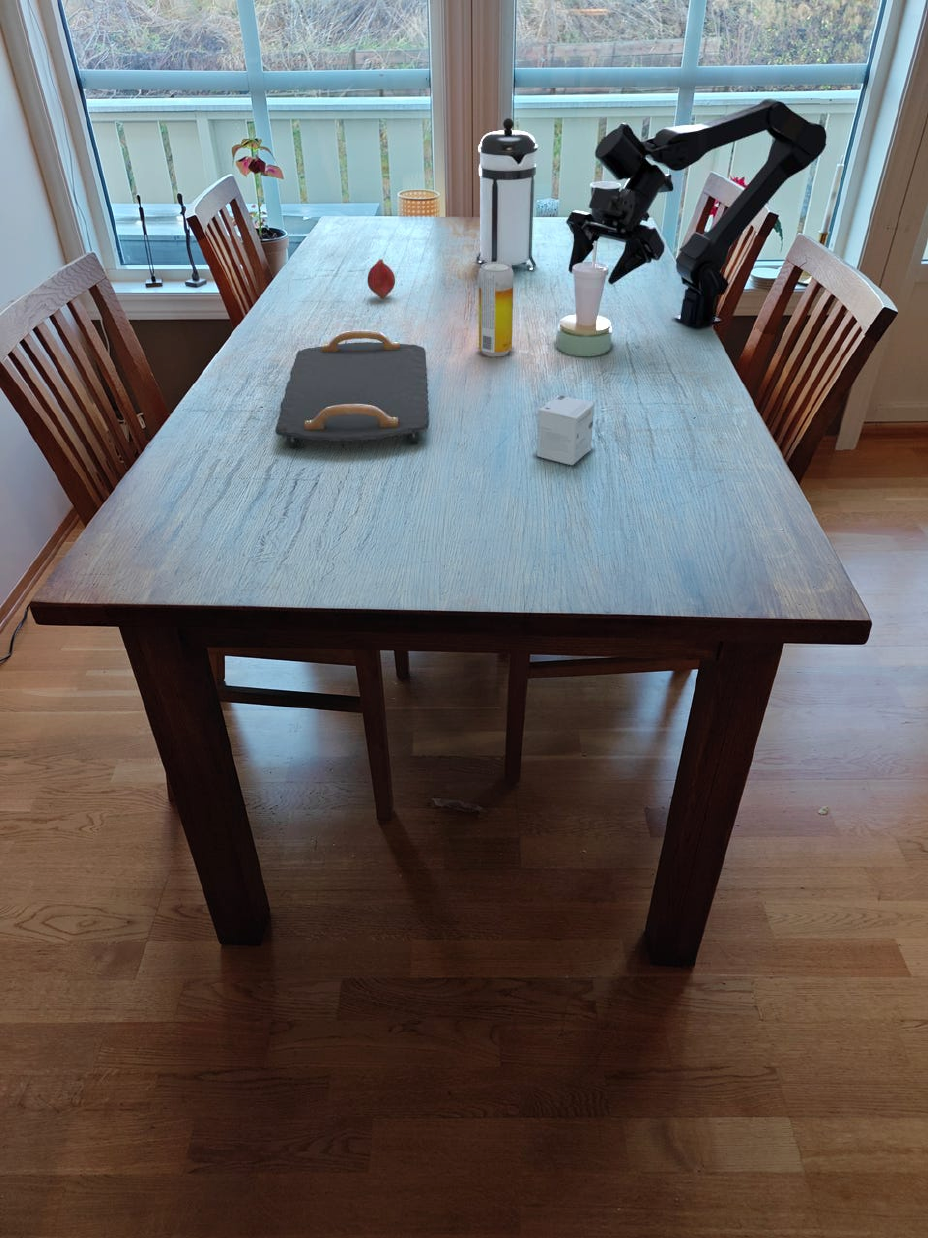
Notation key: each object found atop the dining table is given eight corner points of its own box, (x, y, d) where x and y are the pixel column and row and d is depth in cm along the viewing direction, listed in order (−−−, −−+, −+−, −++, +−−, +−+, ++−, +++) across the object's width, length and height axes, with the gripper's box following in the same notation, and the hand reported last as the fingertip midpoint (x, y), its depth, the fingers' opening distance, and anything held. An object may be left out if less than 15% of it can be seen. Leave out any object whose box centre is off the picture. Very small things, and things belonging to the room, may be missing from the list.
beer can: (516, 347, 155) (519, 263, 146) (504, 359, 151) (505, 272, 141) (486, 343, 157) (487, 259, 148) (473, 354, 153) (472, 268, 143)
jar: (587, 332, 161) (589, 309, 158) (621, 348, 154) (624, 325, 151) (545, 343, 157) (546, 319, 154) (578, 360, 150) (580, 335, 147)
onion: (364, 300, 177) (360, 261, 172) (376, 292, 182) (373, 253, 177) (388, 303, 176) (386, 263, 171) (400, 295, 180) (398, 256, 175)
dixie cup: (607, 225, 224) (611, 179, 217) (622, 232, 218) (627, 185, 212) (581, 228, 222) (584, 182, 215) (595, 235, 216) (599, 188, 209)
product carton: (573, 466, 119) (576, 418, 114) (535, 456, 121) (537, 408, 117) (591, 449, 123) (595, 402, 118) (554, 440, 125) (557, 393, 121)
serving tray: (431, 453, 122) (429, 413, 119) (272, 459, 122) (265, 419, 118) (426, 355, 153) (425, 321, 149) (299, 359, 152) (294, 325, 148)
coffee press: (550, 261, 199) (558, 114, 180) (517, 278, 188) (521, 125, 169) (488, 251, 206) (489, 109, 187) (453, 267, 195) (450, 119, 177)
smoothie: (596, 330, 149) (603, 247, 140) (563, 325, 152) (568, 242, 143) (609, 319, 154) (616, 238, 145) (576, 314, 156) (582, 234, 147)
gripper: (576, 159, 145) (530, 239, 147) (663, 174, 135) (612, 260, 136) (602, 201, 154) (558, 276, 156) (685, 218, 143) (637, 299, 145)
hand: (589, 277), depth 148 cm, fingers open, 9 cm apart
